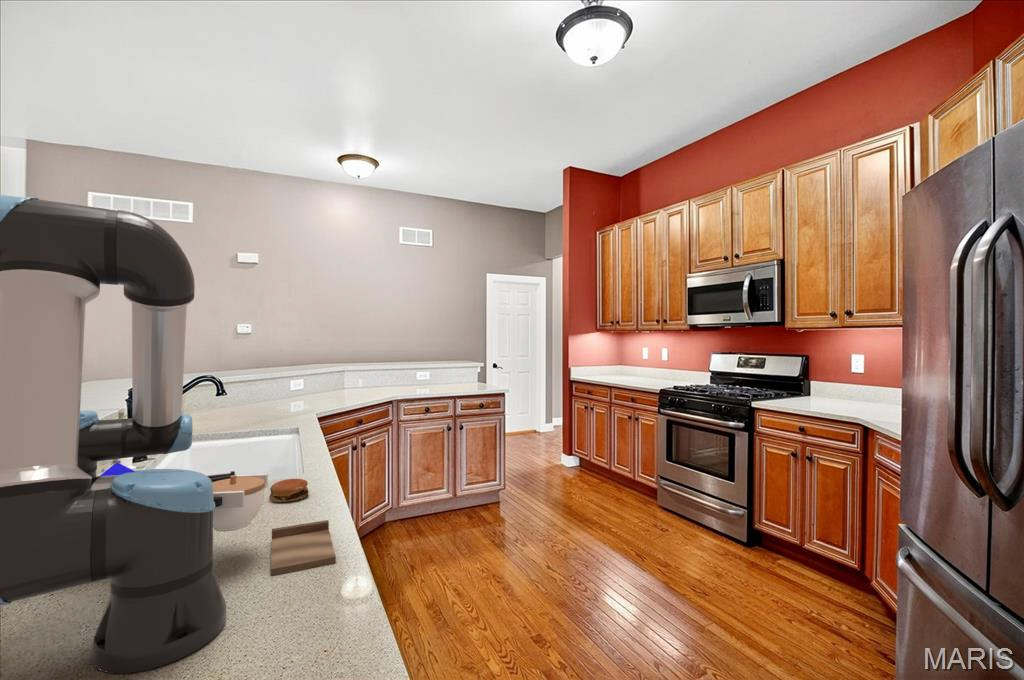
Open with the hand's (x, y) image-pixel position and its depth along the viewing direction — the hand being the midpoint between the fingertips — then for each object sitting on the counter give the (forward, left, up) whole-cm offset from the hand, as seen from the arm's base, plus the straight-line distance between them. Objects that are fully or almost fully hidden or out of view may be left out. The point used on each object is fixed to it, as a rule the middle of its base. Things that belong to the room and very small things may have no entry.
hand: (256, 489), depth 88 cm
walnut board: (+2, -8, -14) cm, 16 cm away
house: (+26, +38, -14) cm, 48 cm away
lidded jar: (0, +4, -7) cm, 8 cm away
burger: (+36, +5, -14) cm, 39 cm away
